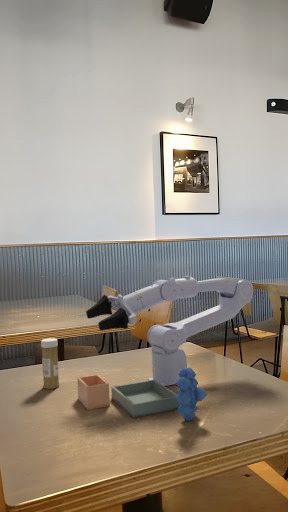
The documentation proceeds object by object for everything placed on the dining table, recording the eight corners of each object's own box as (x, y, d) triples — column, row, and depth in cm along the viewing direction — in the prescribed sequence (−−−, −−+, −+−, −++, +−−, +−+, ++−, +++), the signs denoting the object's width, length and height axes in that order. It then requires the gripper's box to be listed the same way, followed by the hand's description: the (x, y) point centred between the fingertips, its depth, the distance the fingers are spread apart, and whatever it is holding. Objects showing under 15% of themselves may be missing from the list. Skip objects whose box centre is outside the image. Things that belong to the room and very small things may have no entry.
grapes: (203, 433, 91) (201, 374, 91) (171, 429, 93) (169, 373, 93) (212, 412, 102) (210, 360, 102) (183, 409, 104) (181, 358, 104)
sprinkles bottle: (61, 387, 125) (60, 339, 124) (46, 390, 122) (44, 341, 122) (55, 383, 128) (53, 337, 128) (40, 386, 126) (38, 339, 126)
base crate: (154, 390, 119) (153, 379, 118) (180, 408, 105) (180, 396, 105) (111, 398, 114) (111, 386, 114) (133, 418, 100) (133, 405, 100)
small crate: (98, 395, 117) (97, 374, 116) (109, 405, 108) (108, 383, 108) (78, 398, 114) (77, 377, 114) (87, 409, 106) (87, 387, 106)
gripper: (122, 280, 126) (79, 297, 120) (149, 298, 114) (102, 318, 109) (126, 301, 129) (84, 319, 123) (152, 322, 117) (107, 342, 112)
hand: (93, 320), depth 116 cm, fingers open, 7 cm apart
